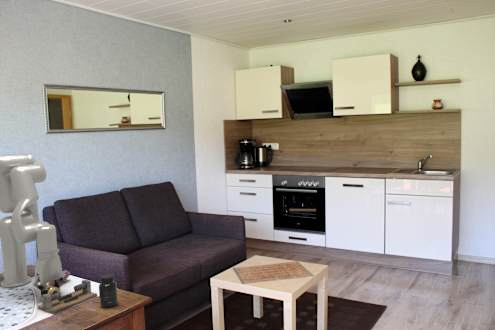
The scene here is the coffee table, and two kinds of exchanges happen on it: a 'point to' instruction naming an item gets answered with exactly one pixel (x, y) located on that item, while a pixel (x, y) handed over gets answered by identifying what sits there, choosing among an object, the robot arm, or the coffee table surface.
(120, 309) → the coffee table surface
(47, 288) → the coupling sleeve
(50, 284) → the dusty red lumpy block
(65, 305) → the shaft bench
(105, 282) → the supplement bottle
